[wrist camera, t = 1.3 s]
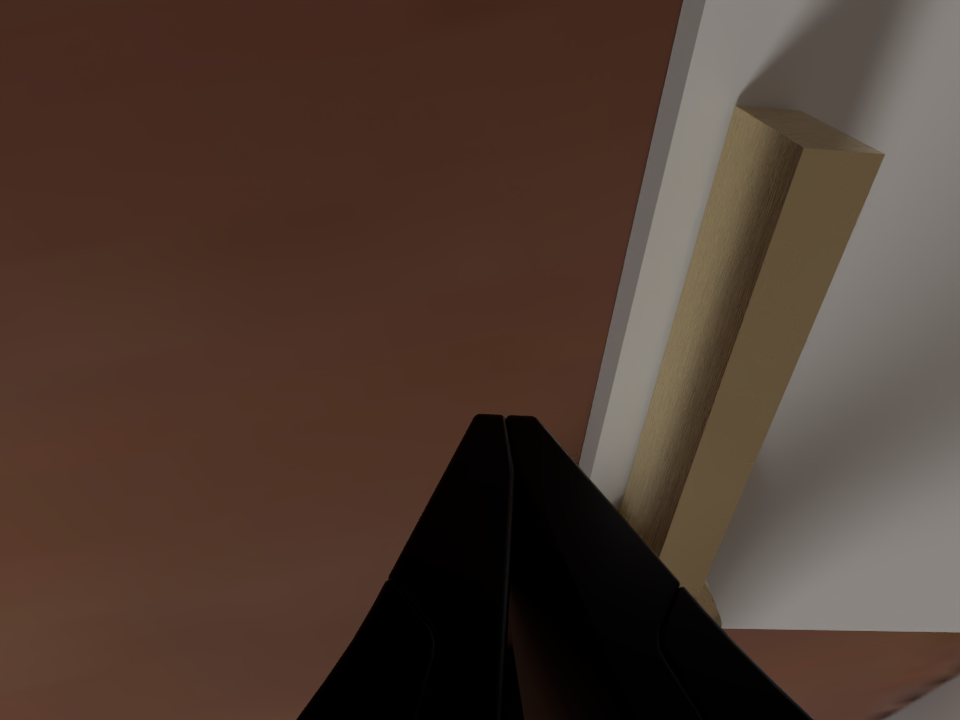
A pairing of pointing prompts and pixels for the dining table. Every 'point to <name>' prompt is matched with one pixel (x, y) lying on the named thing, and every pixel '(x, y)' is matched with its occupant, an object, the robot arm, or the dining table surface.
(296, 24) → the dining table surface
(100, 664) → the dining table surface
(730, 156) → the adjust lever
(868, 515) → the base
